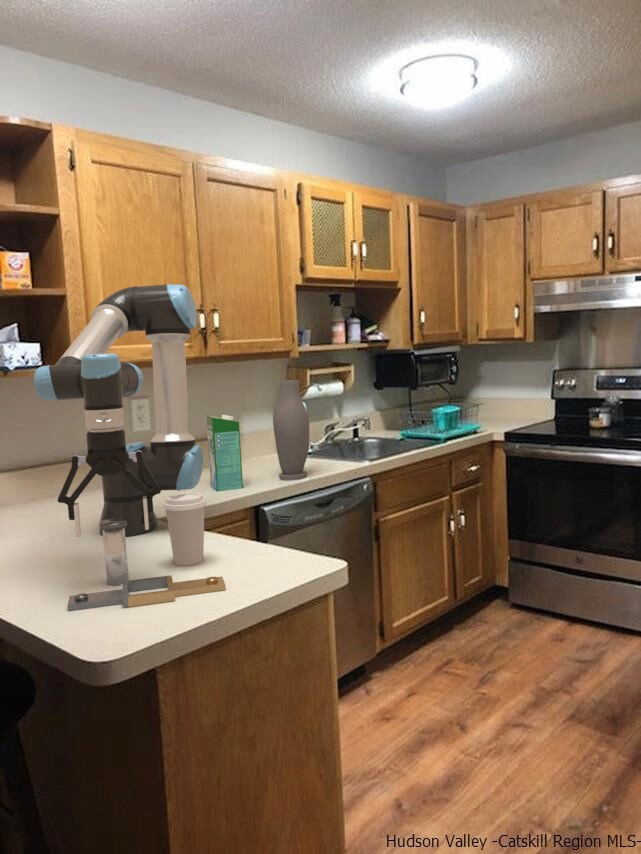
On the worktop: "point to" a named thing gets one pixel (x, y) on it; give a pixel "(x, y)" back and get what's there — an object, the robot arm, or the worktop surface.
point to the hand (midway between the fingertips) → (113, 531)
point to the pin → (115, 550)
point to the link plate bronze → (177, 590)
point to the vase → (291, 431)
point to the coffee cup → (186, 527)
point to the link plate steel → (114, 594)
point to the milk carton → (224, 453)
